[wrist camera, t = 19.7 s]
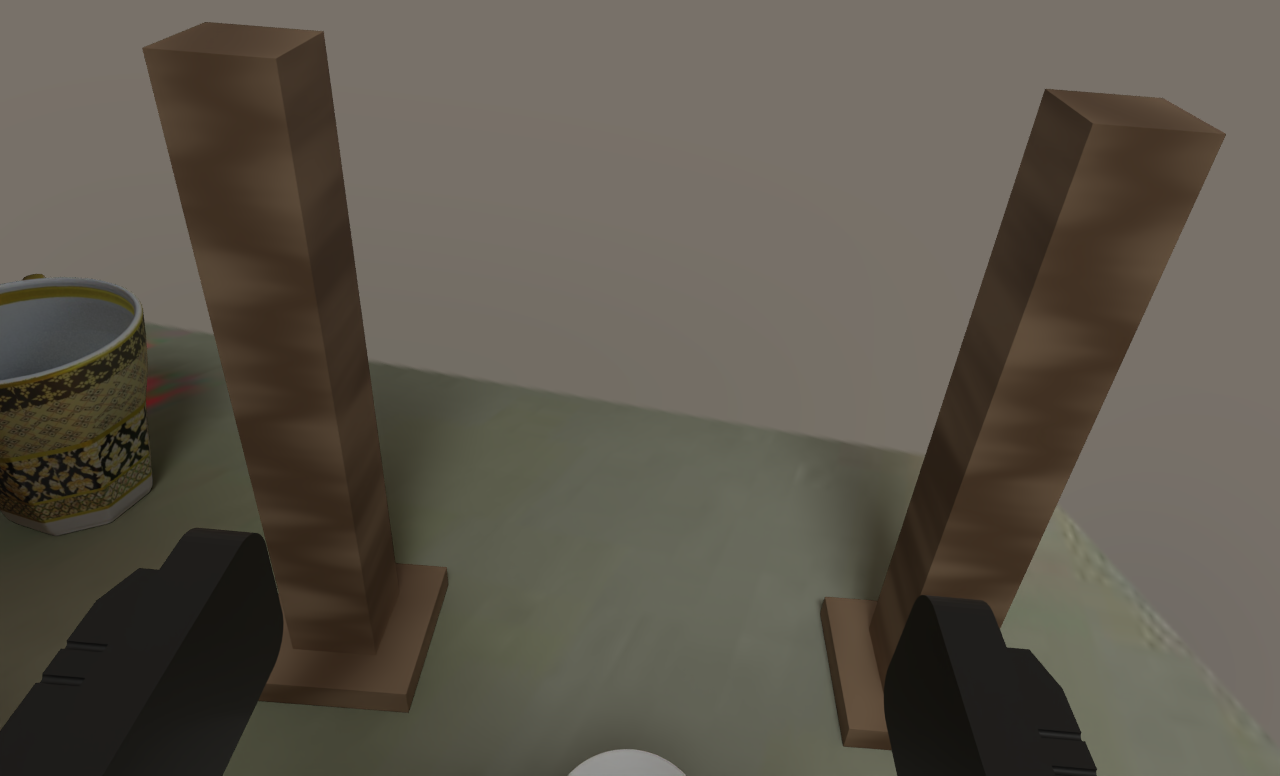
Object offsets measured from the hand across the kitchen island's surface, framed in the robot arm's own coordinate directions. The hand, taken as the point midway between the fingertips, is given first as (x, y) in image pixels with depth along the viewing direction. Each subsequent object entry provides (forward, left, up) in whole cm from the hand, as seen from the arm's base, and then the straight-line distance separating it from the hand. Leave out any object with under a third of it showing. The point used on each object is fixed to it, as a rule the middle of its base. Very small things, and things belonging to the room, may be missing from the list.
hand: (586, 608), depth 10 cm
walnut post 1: (-19, +9, -23) cm, 31 cm away
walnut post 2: (+3, +22, -23) cm, 32 cm away
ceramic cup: (-38, +8, -23) cm, 45 cm away
